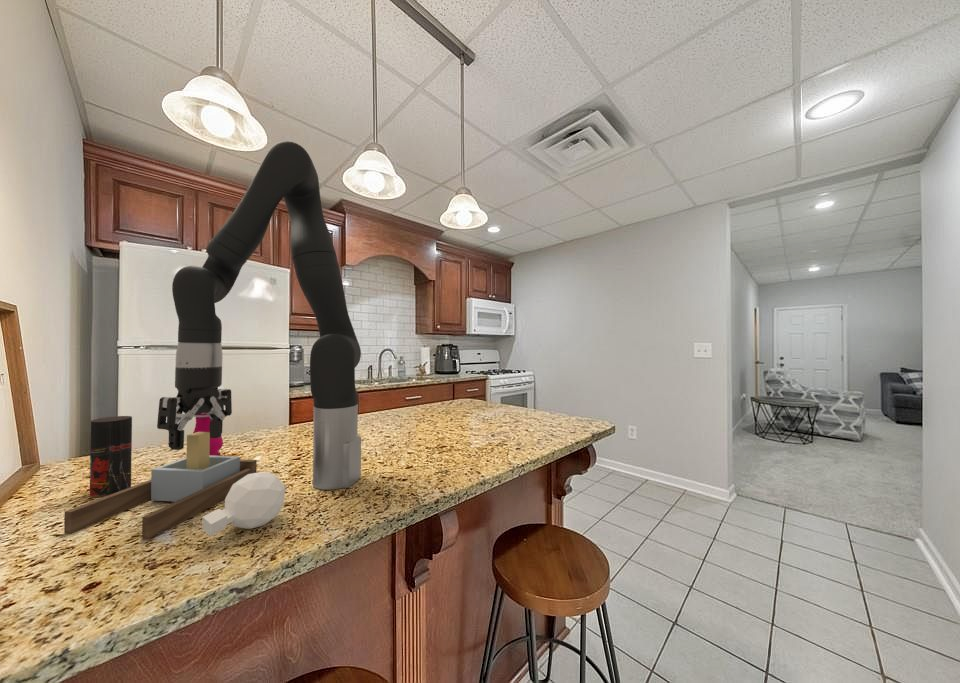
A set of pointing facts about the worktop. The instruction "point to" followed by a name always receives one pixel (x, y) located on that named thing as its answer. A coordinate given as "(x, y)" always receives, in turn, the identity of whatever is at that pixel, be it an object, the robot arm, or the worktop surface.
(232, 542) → the worktop surface
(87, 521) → the bay
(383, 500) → the worktop surface
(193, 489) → the box
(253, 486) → the perfume bottle
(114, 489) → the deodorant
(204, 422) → the pepper mill
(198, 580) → the worktop surface
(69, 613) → the worktop surface
